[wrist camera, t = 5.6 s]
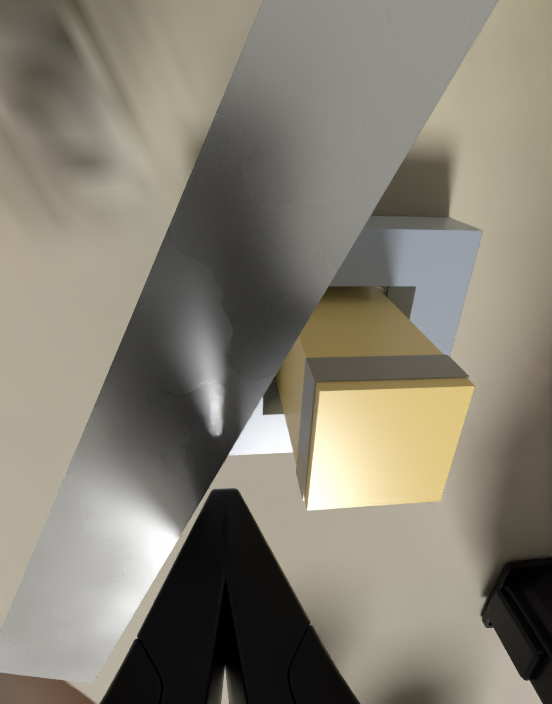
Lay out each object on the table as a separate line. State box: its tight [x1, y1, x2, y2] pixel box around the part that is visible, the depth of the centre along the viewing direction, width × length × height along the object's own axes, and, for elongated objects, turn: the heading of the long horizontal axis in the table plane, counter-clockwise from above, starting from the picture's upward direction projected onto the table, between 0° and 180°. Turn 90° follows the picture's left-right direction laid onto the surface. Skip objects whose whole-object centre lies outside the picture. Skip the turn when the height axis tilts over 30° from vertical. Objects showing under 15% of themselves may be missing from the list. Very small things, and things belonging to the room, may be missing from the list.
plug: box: [275, 286, 475, 510], centre depth 15 cm, size 4×4×8 cm
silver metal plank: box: [0, 0, 498, 683], centre depth 7 cm, size 22×4×1 cm, turn 152°
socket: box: [228, 216, 483, 455], centre depth 18 cm, size 9×9×2 cm
